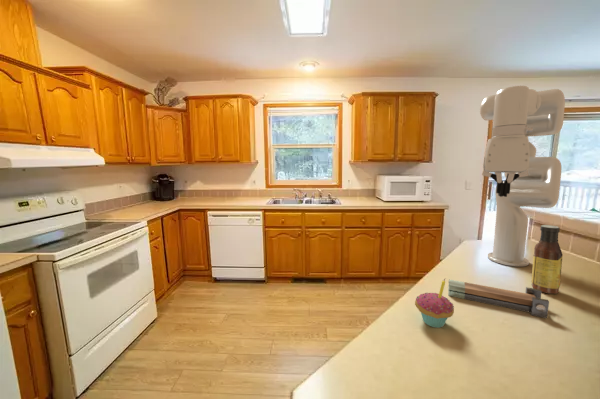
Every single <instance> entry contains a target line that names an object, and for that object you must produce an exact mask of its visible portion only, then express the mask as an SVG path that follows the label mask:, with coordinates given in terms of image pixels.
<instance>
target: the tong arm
mask: <svg viewBox="0 0 600 399" xmlns="http://www.w3.org/2000/svg"><path fill="white" fill-rule="evenodd" d="M448 288H449V290H453V291H458V292H463V293H468V294H473V295H478V296H483V297H488V298H493V299H498V300H503V301H508V302H514V303H519V304H524V305H529V306H531V303H532V297H535V295H532V294H527V293H525V292H520V291H517V290H516V291H515V290H509V289H505V288H498V287H494V286H487V285H482V284H477V283H476V284H475V283H471V282H464V281H459V280H454V279H448ZM535 298H536V297H535Z"/></svg>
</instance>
